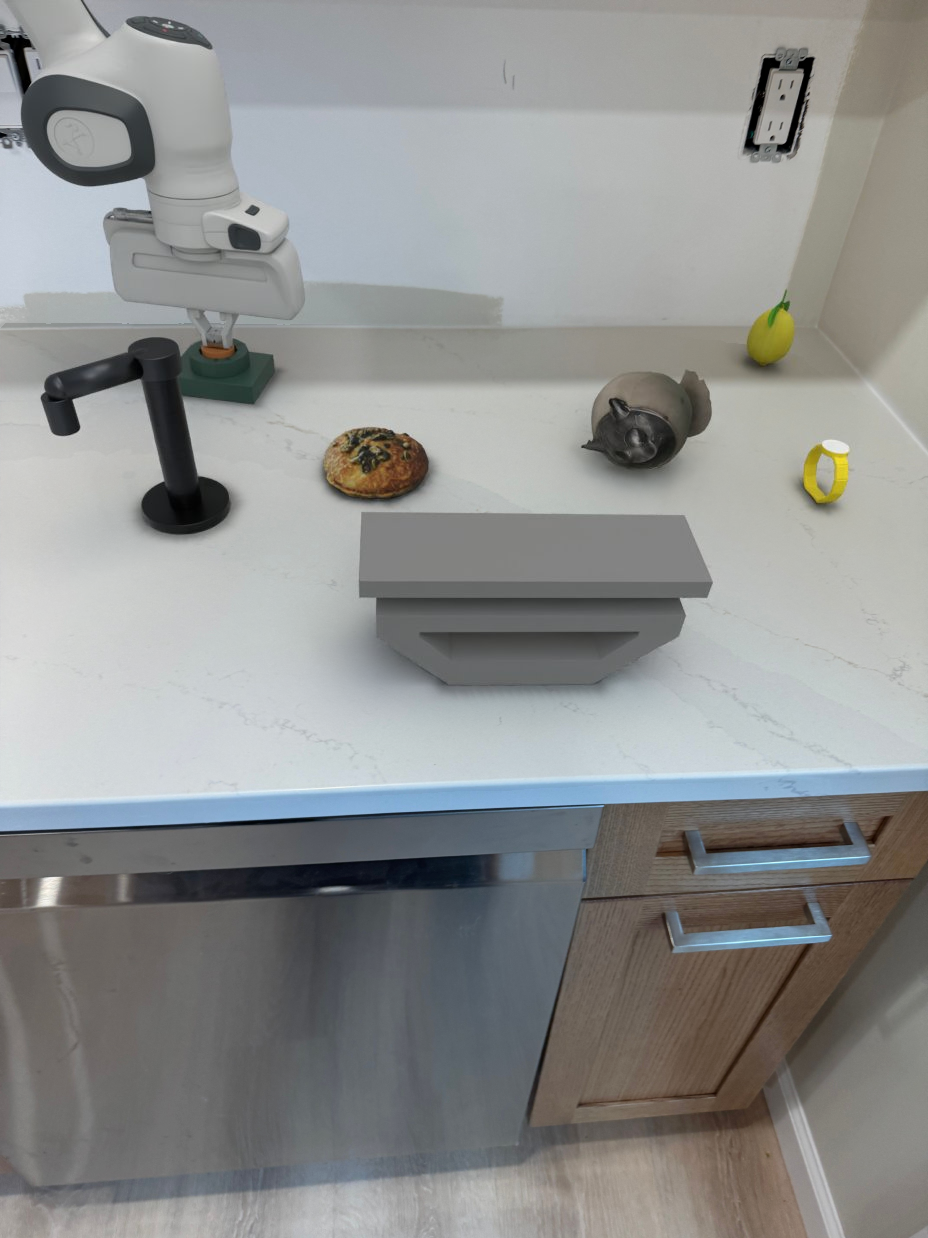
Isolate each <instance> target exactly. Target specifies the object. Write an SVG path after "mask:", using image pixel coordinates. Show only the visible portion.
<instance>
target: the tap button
mask: <svg viewBox="0 0 928 1238" xmlns="http://www.w3.org/2000/svg"><path fill="white" fill-rule="evenodd" d="M201 350H202V356H204V357H206V358H212V359H220V358H227V357H230V356H232V355H234V354H235V350H234V344H232V346H231V348H230V349H222V348H215V347H205V346H203V344H202V345H201Z"/></svg>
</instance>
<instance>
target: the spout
mask: <svg viewBox="0 0 928 1238" xmlns="http://www.w3.org/2000/svg"><path fill="white" fill-rule="evenodd" d="M181 356H182V355H181V349H180V345H179V344H178V342H177V341H175V340H173V339H171V338H168V337H162V336H153V337H144V338H141V339H138V340H136V341H134V342H132V343H130V344H129V346H128V348H127V351H126V352H123V353H119V354H116V355H112V356H109V357H106V358H103V359H99V360H95V361H92V362H89V363H85V364H82V365H78V366H75V367H71V368H68V369H63V370H61V371H57V372H54V373H51V374H49V375H48V376H46V379H45V380H44V383H43V389H44V392H43V393H42V394H41V395H40V397H39V398H40V402H41V406H42V408H43V411H44V414H45V417H46V420H47V423H48V426H49V430H50V432H51V433H52V434H53V435H55V436H56V437H68V436H69V437H70V436H72V435H75V434H77V433H78V432H79V431H80V430H81V423H80V420H79V417H78V414H77V410H76V407H75V403H74V400H76V399H79V398H83V397H86V396H90V395H92V394H96V393H99V392H102V391H105V390H109V389H112V388H115V387H118V386H122V385H125V384H129V383H131V382H135V381H138V380H140V381H141V380H144V381H151V382H158V381H165V380H169V379H172V378H175V377H177V376H178V375H179V374H180V373H181V372H182V370H183V365H182V360H181Z"/></svg>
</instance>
